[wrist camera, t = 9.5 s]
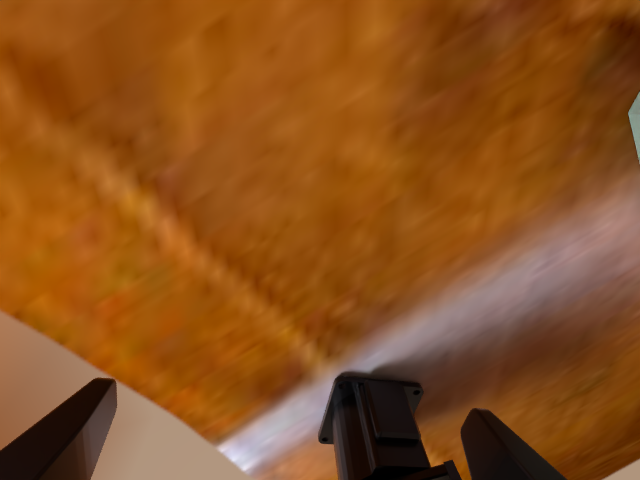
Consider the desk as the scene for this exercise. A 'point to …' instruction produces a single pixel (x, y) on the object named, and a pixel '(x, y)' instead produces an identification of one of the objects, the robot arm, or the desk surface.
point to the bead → (636, 122)
